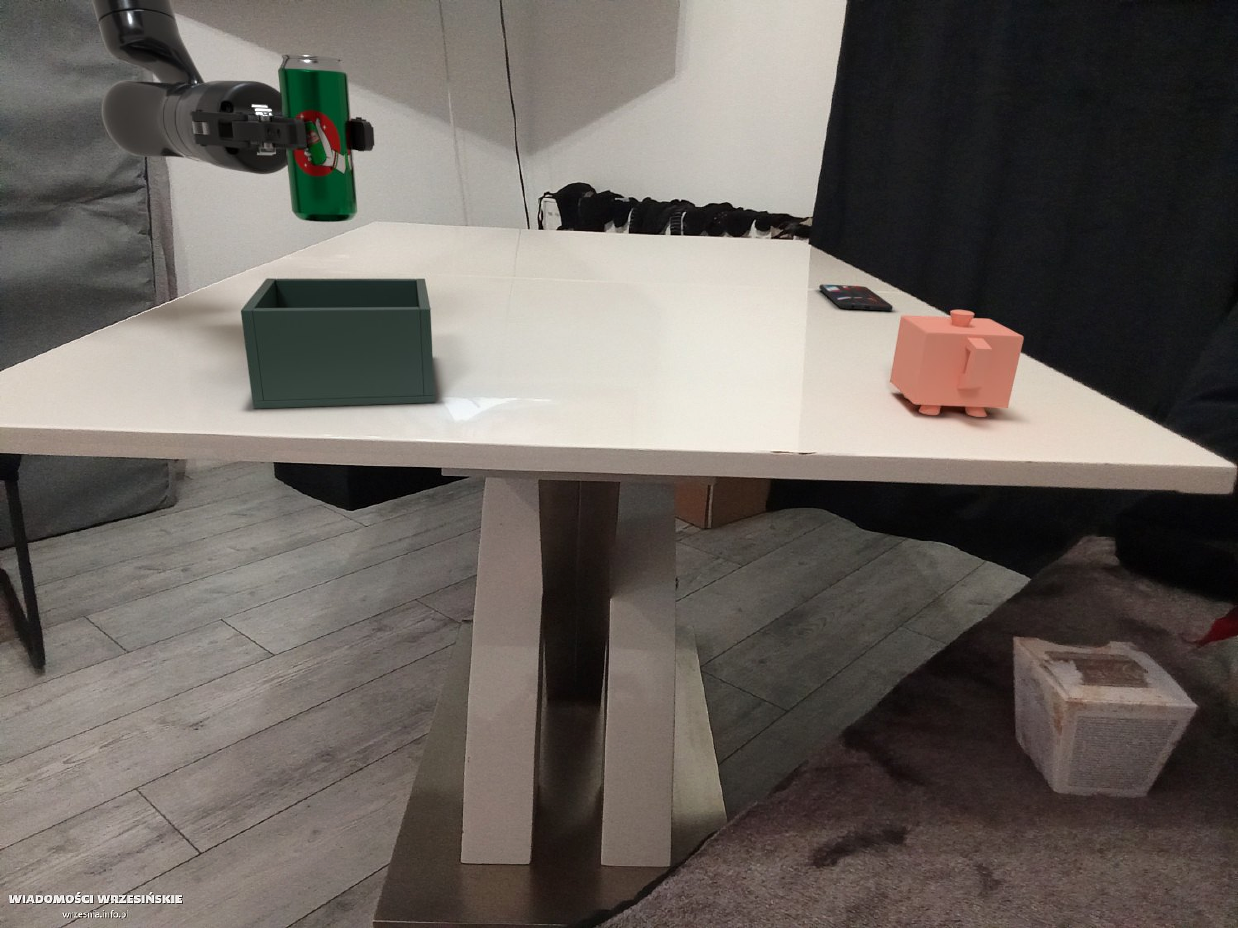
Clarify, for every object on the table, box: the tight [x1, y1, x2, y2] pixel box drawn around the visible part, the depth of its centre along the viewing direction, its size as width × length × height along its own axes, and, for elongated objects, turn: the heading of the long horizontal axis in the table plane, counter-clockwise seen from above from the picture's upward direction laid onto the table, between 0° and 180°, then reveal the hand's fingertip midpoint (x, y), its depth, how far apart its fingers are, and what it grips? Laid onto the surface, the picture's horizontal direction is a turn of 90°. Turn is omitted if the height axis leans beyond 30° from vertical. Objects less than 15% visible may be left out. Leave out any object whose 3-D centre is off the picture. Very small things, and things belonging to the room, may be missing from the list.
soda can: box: [277, 53, 358, 223], centre depth 66 cm, size 5×5×12 cm
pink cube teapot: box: [889, 309, 1025, 418], centre depth 71 cm, size 8×12×8 cm, turn 0°
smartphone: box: [818, 283, 894, 311], centre depth 117 cm, size 7×1×15 cm
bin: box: [240, 277, 436, 410], centre depth 70 cm, size 14×14×8 cm
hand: (335, 135), depth 64 cm, fingers closed on soda can, 5 cm apart
